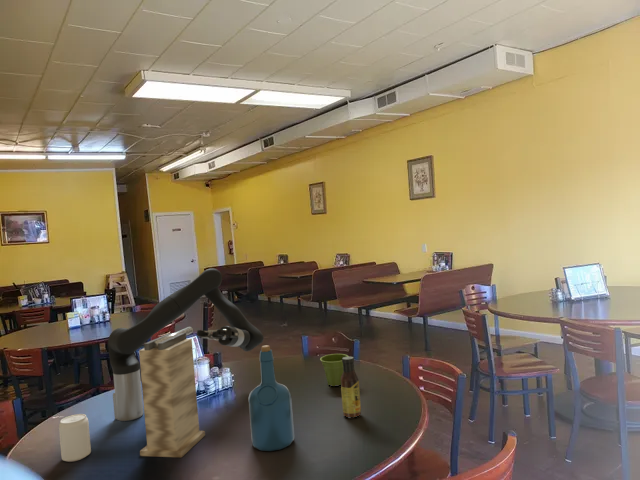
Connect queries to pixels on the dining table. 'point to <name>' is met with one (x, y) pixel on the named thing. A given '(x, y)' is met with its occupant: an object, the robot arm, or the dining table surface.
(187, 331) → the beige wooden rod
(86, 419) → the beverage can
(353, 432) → the dining table surface
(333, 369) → the plant pot
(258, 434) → the wine bottle
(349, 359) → the sauce bottle
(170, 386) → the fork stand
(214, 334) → the robot arm
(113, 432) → the dining table surface
